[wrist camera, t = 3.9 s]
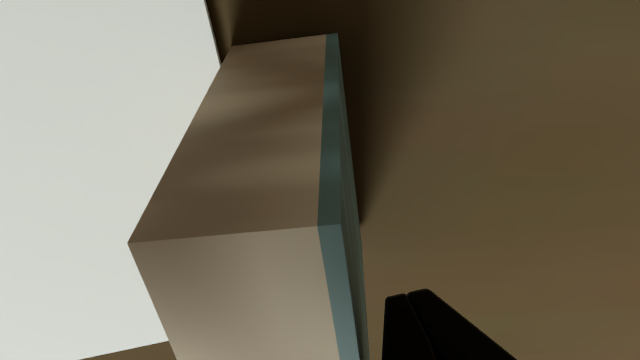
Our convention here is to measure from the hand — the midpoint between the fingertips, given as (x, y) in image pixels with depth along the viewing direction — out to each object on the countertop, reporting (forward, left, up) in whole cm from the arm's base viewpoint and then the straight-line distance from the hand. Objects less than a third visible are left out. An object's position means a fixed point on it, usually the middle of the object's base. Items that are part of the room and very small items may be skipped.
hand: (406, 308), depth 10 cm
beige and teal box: (+1, 0, -7) cm, 7 cm away
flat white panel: (+8, 0, -7) cm, 10 cm away
